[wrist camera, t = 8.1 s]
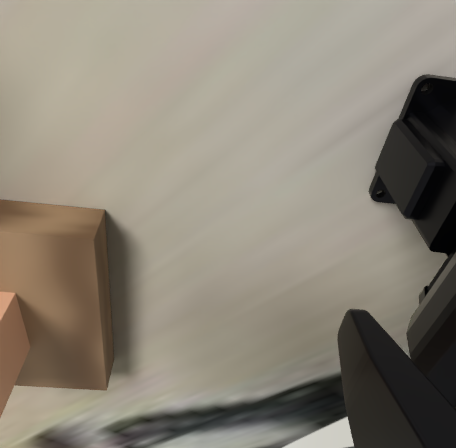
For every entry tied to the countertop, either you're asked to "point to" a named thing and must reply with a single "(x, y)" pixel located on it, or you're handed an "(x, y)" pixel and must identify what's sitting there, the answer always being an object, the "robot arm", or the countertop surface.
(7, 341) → the block
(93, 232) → the base board
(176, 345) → the countertop surface
